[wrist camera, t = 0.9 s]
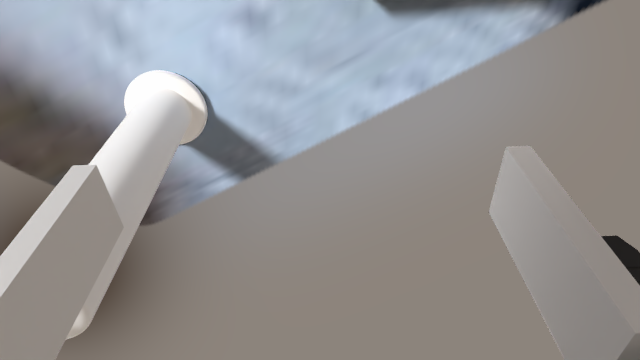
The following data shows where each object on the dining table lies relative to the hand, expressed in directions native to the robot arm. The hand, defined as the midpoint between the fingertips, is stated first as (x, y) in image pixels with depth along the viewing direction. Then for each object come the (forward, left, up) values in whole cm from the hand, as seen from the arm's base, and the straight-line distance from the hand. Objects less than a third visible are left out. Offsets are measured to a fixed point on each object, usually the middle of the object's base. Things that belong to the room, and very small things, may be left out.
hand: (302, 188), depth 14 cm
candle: (+7, -13, -23) cm, 28 cm away
